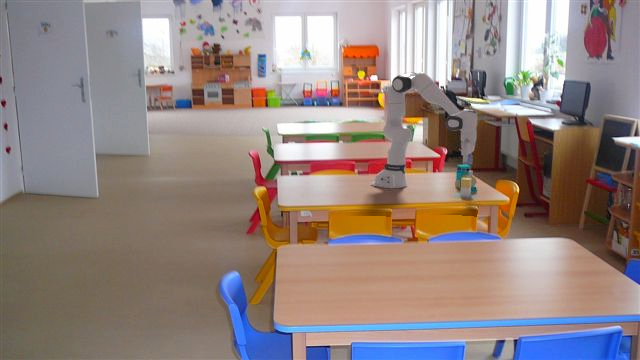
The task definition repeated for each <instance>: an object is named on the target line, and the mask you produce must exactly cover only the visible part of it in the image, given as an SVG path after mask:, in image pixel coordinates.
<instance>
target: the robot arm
mask: <svg viewBox="0 0 640 360" xmlns="http://www.w3.org/2000/svg"><path fill="white" fill-rule="evenodd" d="M414 90H415V91H416V92H418V94H419V95H420V96H421V97H422V99H423V100H424V101H426V102H427V103H429V104H433V105H435V106H436V105H437V106H438V107H439V106H440V107H441V108H442V109H444V111H445V112H446V113H447V114H448V116H447V117H446V118H445V123H444V125H445V127H446V128H447V129H448V131H452V132H455V131H460V141H461V142H462V143H461V151H460V152H461V153H460V155H461V156H463V155H464V162H468V155H472V153H473V152H474V151H475V150H476V149H475V148H476V141H477V139H478V135H477V132H478V131H477V127H478V113H477V112H476V110H474V109H470V108H463V110H461V109H460V108H459V107H458V106H457V105H456V104H455V103H454V102H453V101H452V100H451V99H450V98H449V97H448V96H447V95H446V94H445V92H443V90H442V89H441V88H440V87H439V85H438V84H437V83H436V82H435V81H434V80H433V79H432V78H431V77H430V76H429V75H428V74H427V73H425V72H422V71H421V72H418V73H416V72H413V71H412V72H411V71H410V72H405V73H403V74H402V73H401V74H398V75H396V76H395V77H394V78H393V79H392V81H391V85H389V87H388V88H387V93H386V94H387V95H386V107H387V108H386V110H387V112H386V113H387V116H386V123H385V125H384V126H383V129H382V134H383V136H384V137H385V139H387V140H388V141H391V145H390V148H389V149H388V151H387V162H386V163H385V164H384V165H383V168H384V169H382V170H381V171H379V172H378V173H377V174H376V175H375V178H374V181H372V182H371V183H370V186H372V187H373V186H375V187H378V188H379V187H380V188H386V189H399V188H401V189H402V188H407V185H408V184H407V182H406V181H407V180H406V172H407V168H406V153H407V148H408V144H409V143H410V142H411V140H413V139H412V138H413V132H412V130H411V129H410V128H409V127H407V126H405V125H403V120H404V118H405V116H406V97H405V96H406V93H408V92H411V91H414Z"/></svg>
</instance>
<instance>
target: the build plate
mask: <svg viewBox="0 0 640 360" xmlns="http://www.w3.org/2000/svg"><path fill="white" fill-rule="evenodd" d="M477 196H479V193H478V194H477V193H471V195H470V196H469V197H467V196H460V192H458V191H457V192H455V193H454V194H453V195H452V196H451V197H453V198H461V199H471V200H474V199H476V198H477Z"/></svg>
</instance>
